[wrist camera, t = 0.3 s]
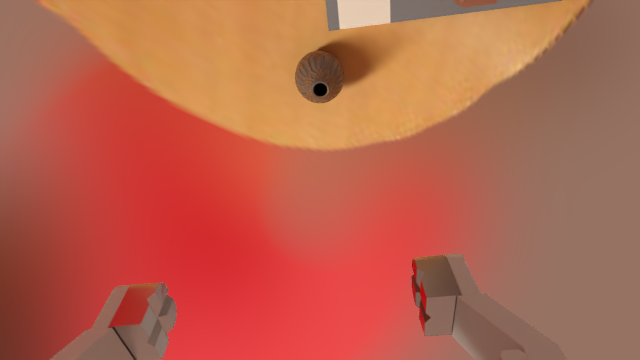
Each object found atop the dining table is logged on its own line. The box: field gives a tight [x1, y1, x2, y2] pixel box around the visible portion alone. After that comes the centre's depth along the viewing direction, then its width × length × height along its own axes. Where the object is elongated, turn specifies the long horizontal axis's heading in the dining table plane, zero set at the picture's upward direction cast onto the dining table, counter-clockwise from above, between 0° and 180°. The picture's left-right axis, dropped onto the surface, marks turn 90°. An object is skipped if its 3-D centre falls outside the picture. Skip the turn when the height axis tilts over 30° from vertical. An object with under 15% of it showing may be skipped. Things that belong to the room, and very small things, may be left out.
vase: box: [295, 51, 344, 103], centre depth 52 cm, size 7×7×9 cm
